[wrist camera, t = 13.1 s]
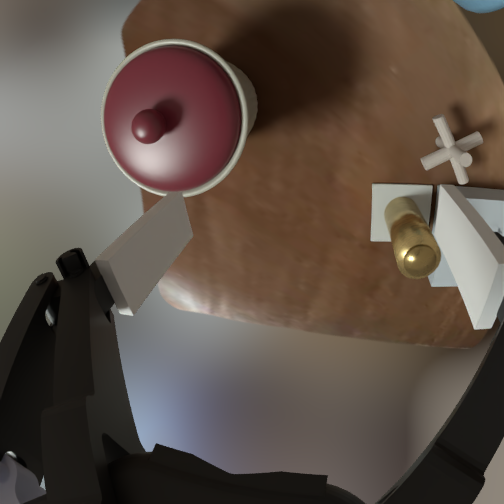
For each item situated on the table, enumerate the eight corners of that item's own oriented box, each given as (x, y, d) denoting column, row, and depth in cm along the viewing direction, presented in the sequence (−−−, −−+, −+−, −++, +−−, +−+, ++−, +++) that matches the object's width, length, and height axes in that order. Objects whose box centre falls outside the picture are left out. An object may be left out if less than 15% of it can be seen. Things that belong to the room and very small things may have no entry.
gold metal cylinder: (384, 196, 43) (400, 240, 32) (420, 197, 42) (446, 241, 31) (383, 230, 47) (395, 281, 35) (416, 230, 45) (437, 281, 34)
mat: (372, 183, 43) (372, 184, 43) (431, 184, 41) (432, 185, 40) (370, 239, 48) (370, 241, 48) (425, 240, 46) (426, 241, 45)
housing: (437, 185, 40) (447, 197, 36) (505, 190, 36) (519, 202, 32) (425, 269, 48) (431, 286, 44) (487, 268, 45) (496, 284, 41)
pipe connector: (476, 158, 36) (505, 180, 28) (426, 182, 41) (446, 209, 33) (453, 99, 33) (482, 108, 24) (399, 125, 37) (417, 138, 29)
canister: (268, 166, 46) (226, 231, 29) (164, 151, 49) (82, 202, 32) (283, 52, 36) (244, 33, 19) (168, 48, 38) (73, 48, 21)
